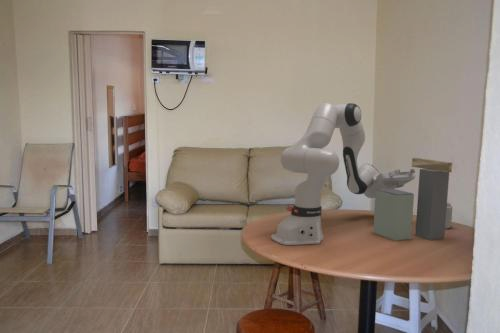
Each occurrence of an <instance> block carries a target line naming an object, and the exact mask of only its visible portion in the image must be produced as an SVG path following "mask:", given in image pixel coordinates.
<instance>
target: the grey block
mask: <svg viewBox="0 0 500 333" xmlns="http://www.w3.org/2000/svg"><path fill="white" fill-rule="evenodd" d="M414 198H415V193H412V192H407V191H404V190H400V189H397V188H395V189H392V188H389V189H376V192H375V198H374V214H373V229H372V230H373V231H372V232H373V234H375V235H378V236H381V237H385V238H387V239H390V240H393V241H395V242H396V241H403V240H411V239H412V229H413V228H412V227H413V214H414Z"/></svg>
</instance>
